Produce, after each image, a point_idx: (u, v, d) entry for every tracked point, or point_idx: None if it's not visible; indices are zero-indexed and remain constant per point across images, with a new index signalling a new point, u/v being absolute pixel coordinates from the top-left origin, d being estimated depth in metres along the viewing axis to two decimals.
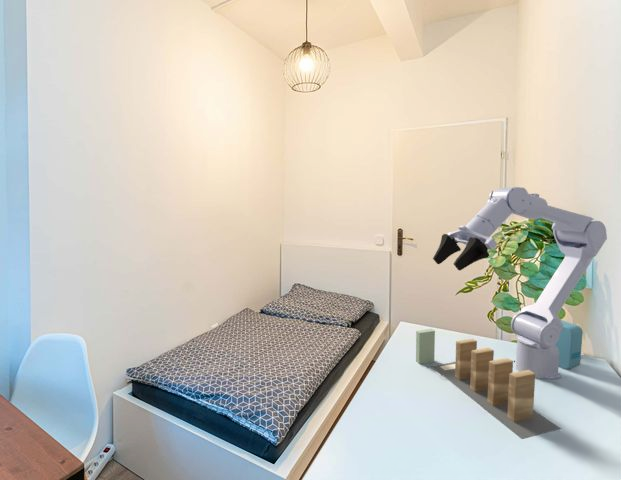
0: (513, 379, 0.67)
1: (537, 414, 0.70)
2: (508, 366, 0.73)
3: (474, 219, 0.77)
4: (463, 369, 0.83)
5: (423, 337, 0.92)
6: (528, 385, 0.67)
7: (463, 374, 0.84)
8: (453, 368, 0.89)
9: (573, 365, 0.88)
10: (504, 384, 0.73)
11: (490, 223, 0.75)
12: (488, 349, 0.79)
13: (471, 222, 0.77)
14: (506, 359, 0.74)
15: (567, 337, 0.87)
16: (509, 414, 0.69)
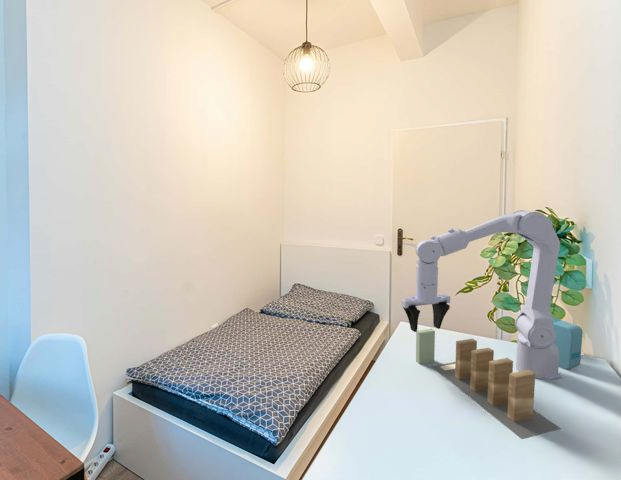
0: (513, 379, 0.67)
1: (537, 414, 0.70)
2: (508, 366, 0.73)
3: None
4: (463, 369, 0.83)
5: (423, 337, 0.92)
6: (528, 385, 0.67)
7: (463, 374, 0.84)
8: (453, 368, 0.89)
9: (573, 365, 0.88)
10: (504, 384, 0.73)
11: (416, 283, 0.91)
12: (488, 349, 0.79)
13: None
14: (506, 359, 0.74)
15: (567, 337, 0.87)
16: (509, 414, 0.69)
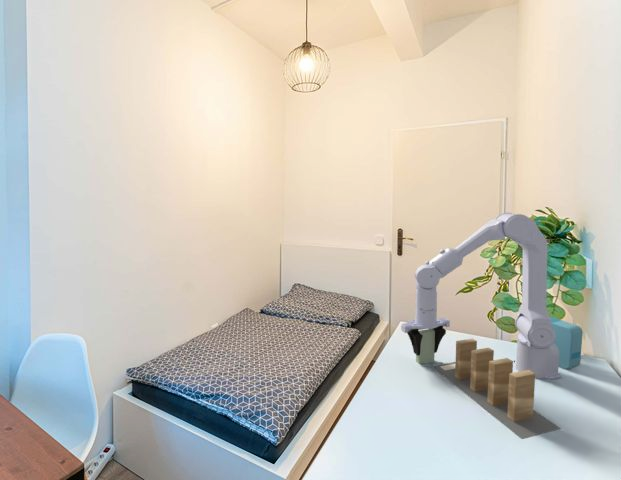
0: (513, 379, 0.67)
1: (537, 414, 0.70)
2: (508, 366, 0.73)
3: None
4: (463, 369, 0.83)
5: (423, 337, 0.92)
6: (528, 385, 0.67)
7: (463, 374, 0.84)
8: (453, 368, 0.89)
9: (573, 365, 0.88)
10: (504, 384, 0.73)
11: None
12: (488, 349, 0.79)
13: None
14: (506, 359, 0.74)
15: (567, 337, 0.87)
16: (509, 414, 0.69)
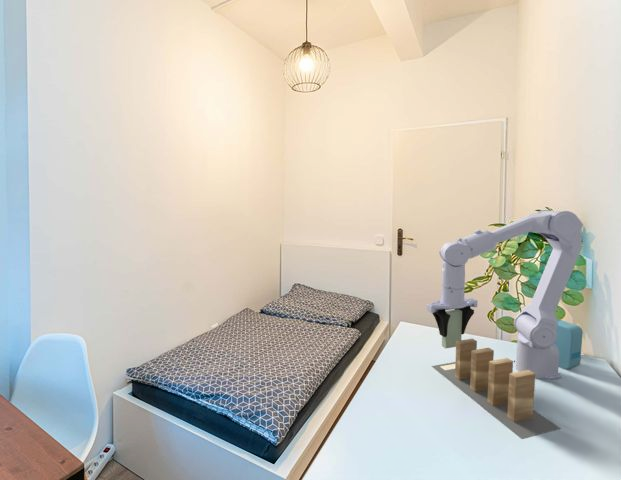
0: (513, 379, 0.67)
1: (537, 414, 0.70)
2: (508, 366, 0.73)
3: None
4: (463, 369, 0.83)
5: (450, 318, 0.87)
6: (528, 385, 0.67)
7: (463, 374, 0.84)
8: (453, 368, 0.89)
9: (573, 365, 0.88)
10: (504, 384, 0.73)
11: (442, 286, 0.88)
12: (488, 349, 0.79)
13: None
14: (506, 359, 0.74)
15: (567, 337, 0.87)
16: (509, 414, 0.69)
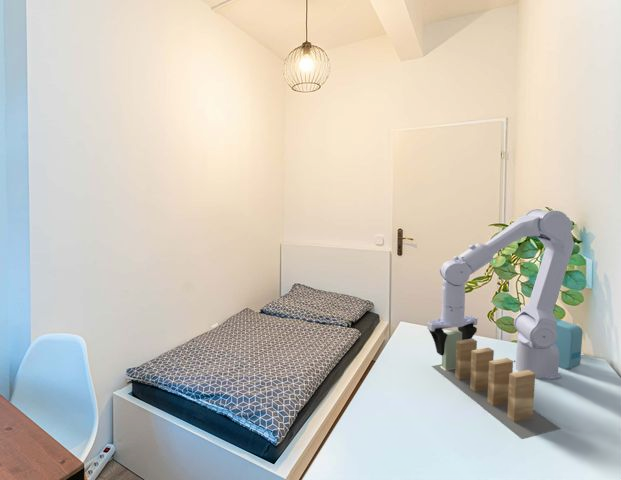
0: (513, 379, 0.67)
1: (537, 414, 0.70)
2: (508, 366, 0.73)
3: None
4: (463, 369, 0.83)
5: (450, 339, 0.88)
6: (528, 385, 0.67)
7: (463, 374, 0.84)
8: (453, 368, 0.89)
9: (573, 365, 0.88)
10: (504, 384, 0.73)
11: (442, 305, 0.88)
12: (488, 349, 0.79)
13: None
14: (506, 359, 0.74)
15: (567, 337, 0.87)
16: (509, 414, 0.69)
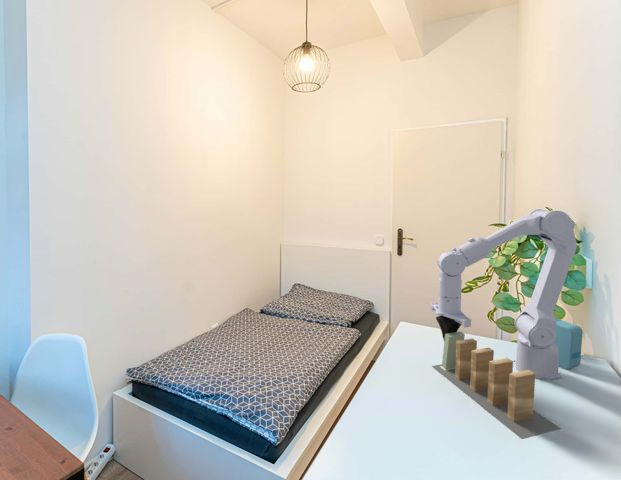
0: (513, 379, 0.67)
1: (537, 414, 0.70)
2: (508, 366, 0.73)
3: (440, 300, 0.89)
4: (463, 369, 0.83)
5: (452, 341, 0.87)
6: (528, 385, 0.67)
7: (463, 374, 0.84)
8: (453, 368, 0.89)
9: (573, 365, 0.88)
10: (504, 384, 0.73)
11: (453, 298, 0.86)
12: (488, 349, 0.79)
13: (440, 304, 0.89)
14: (506, 359, 0.74)
15: (567, 337, 0.87)
16: (509, 414, 0.69)
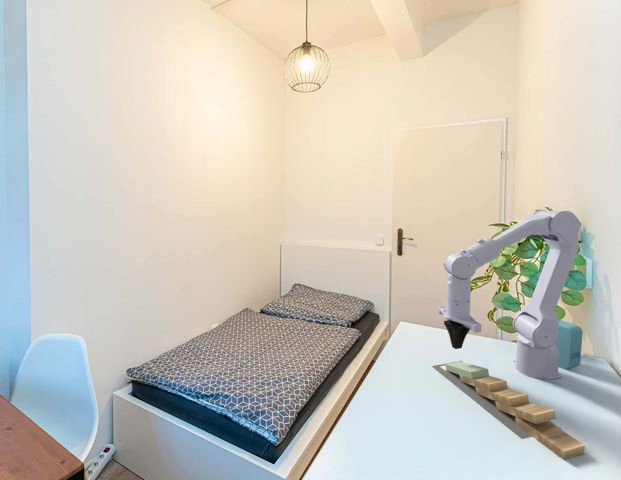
0: (559, 454, 0.58)
1: None
2: None
3: (449, 304, 0.85)
4: None
5: None
6: None
7: None
8: None
9: (573, 365, 0.88)
10: None
11: (462, 302, 0.83)
12: (525, 399, 0.69)
13: (449, 307, 0.85)
14: (552, 413, 0.64)
15: (567, 337, 0.87)
16: (519, 421, 0.66)
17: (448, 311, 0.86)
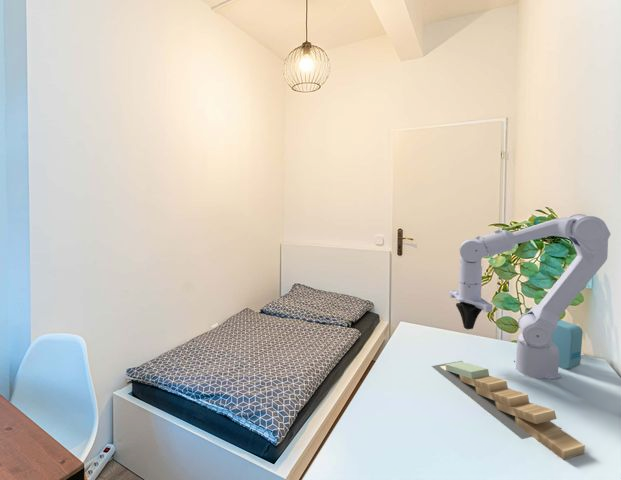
0: (559, 454, 0.58)
1: None
2: None
3: (461, 286, 0.90)
4: None
5: None
6: None
7: None
8: None
9: (573, 365, 0.88)
10: None
11: (474, 285, 0.88)
12: (525, 399, 0.69)
13: (461, 290, 0.91)
14: (552, 413, 0.64)
15: (567, 337, 0.87)
16: (519, 421, 0.66)
17: (460, 293, 0.91)
